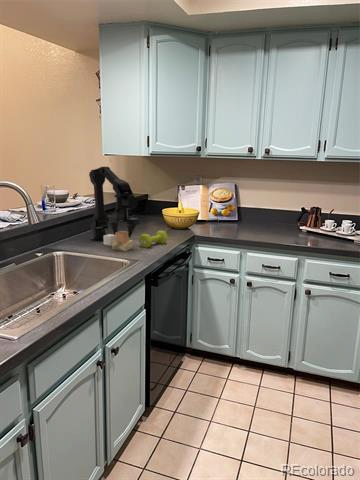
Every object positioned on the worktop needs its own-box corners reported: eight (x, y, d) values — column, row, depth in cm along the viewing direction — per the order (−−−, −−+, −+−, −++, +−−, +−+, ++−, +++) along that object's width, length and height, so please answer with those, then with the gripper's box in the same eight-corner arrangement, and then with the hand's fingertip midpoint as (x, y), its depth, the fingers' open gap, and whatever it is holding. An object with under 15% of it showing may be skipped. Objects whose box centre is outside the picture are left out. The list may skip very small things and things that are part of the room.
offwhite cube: (103, 244, 210) (103, 235, 209) (109, 242, 215) (109, 234, 214) (110, 245, 208) (110, 236, 207) (116, 244, 212) (116, 235, 211)
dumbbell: (148, 249, 203) (148, 236, 201) (137, 246, 208) (137, 233, 206) (168, 244, 215) (169, 231, 214) (158, 241, 220) (158, 229, 218)
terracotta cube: (115, 241, 202) (115, 232, 201) (121, 239, 206) (121, 230, 205) (123, 243, 199) (122, 233, 198) (129, 241, 203) (129, 231, 202)
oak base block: (112, 249, 201) (112, 242, 200) (119, 246, 209) (119, 239, 208) (125, 251, 199) (125, 243, 198) (132, 247, 206) (132, 240, 205)
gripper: (97, 206, 196) (98, 236, 200) (127, 210, 187) (127, 241, 191) (111, 204, 205) (112, 232, 209) (140, 207, 197) (140, 237, 200)
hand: (122, 236), depth 202 cm, fingers open, 9 cm apart
